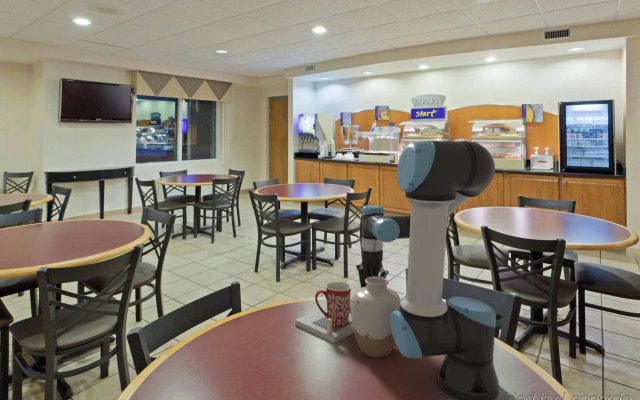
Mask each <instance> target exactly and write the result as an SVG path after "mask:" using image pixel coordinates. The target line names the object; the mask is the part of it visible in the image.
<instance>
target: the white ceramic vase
mask: <svg viewBox="0 0 640 400" xmlns="http://www.w3.org/2000/svg"><path fill="white" fill-rule="evenodd" d="M365 283H366V285H367V286H366V287H362V288H361V287H360V288H358V289H357V290H356V291H355V292H354V294H353V296H352V298H351V300H352V302H351V319H352V325H353V330H354V333H353V334H354V337H355V340H356V343H357V346H358V347H359V349H360V352H361V353H362V354H363V355H365V356H367V357H370V358H377V359H379V358H384V357H387V356H389V355H390V354H391V352H392V351H393V349H394V347H395V345H396V343H395V340H394V337H393V334H392V329H391V322H390V318H391V314H392V312H393V311H395V310H400V300H401V299H402V298H401V297H400V296H399V294H398V292H397V291H395V290H394V289H392V288H390V287H388V284H389V280H388V279H387V277H386V278H383V277H380V276H379V277H368V278H366V280H365Z"/></svg>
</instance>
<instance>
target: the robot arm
mask: <svg viewBox="0 0 640 400" xmlns="http://www.w3.org/2000/svg"><path fill="white" fill-rule="evenodd" d="M495 172H496V164H495V161H494V157H493V156H492V154H491V152H490V151H489V149H487V148H486V147H485V146H484V145H482V144H480V143H478V142H475V141H470V140H461V141H460V140H458V141H457V140H420V141H413V142H409V144H408V145H406V146H405V147H404V149H403V151H402V152H401V154H400V157H399V159H398V163H397V167H396V180H397V184H398V187H399V189H400V190H401V191H403V192H404V195H405V196H404V197H405V199H406V200H407V201H408V202H409V203H410V215H393V216H392V215H390V216H387V215H385V210H384V207H383V206H381V205H374V204H373V205H372V204H371V205H365V206H363V207H362V210H361V263H359V264H356V265H355V267H356V269H357V273H358V278H359V279H358V280H359V284H360V288H362V287H366V286H367V285H366V283H365V280H366V278H368V277H383V278H386V279H387V276H388V274H389V270H386V269H385V268H384V266H383V260H384V250H383V248H384V243H392V242H394V241H396V240H399V239H400V240H401V239H409V241H408V255H407V256H408V257H407V277H406V278H407V279H406V295H405V296H403V297H402V298H400V299H401V300H400V310H395V311H393V312H392V314H391V318H390V322H391V329H392V334H393V337H394V340H395V345H396V348H397V349H398V351H399V353H400V354H401V355H402V356H403V357H405V358H407V359H423V358H427V357H429V358H430V357H435V356H436V357H437V356H444V358H443V360H442V362H441V365H440V367H439V370H438V371H437V372H438V374H437V382H438V385H439V386H440V388H441V389H442V390H443V391H444V392H445V394H446V393H447V394H448V395H450V396H451V397H453V398H455V399H458V400H496V398H498V396H499V392H500V391H499V390H500V382H499V379H498V376H497V372H496V369H495V365H494V353H495V352H494V350H495V336H496V334H495V333H496V327H497V323H496V311H495V310H494V309H493V308H492V307H491V306H490V305H488V304H487V303H485V302H483V301H480V300H478V299H475V298H470V297H466V296H451V298H449V299H448V301H447V303H446V302H445V301H444V300H443V290H444V289H443V286H444V272H445V271H444V270H445V261H446V259H445V257H446V246H447V245H446V244H447V231H448V229H447V228H448V217H449V216H450V215H452V214H453V213H454V212H455V211H456V210H457V209H459V207H461V206H462V205H463V204H464V203H465V202H466V201H468V199H470V198H476V197H478V196H480V194H482V193H483V192H484V191H485V190H486V189H487V188H488V187H490V184H491V183H492V181H493V179H494V177H495Z"/></svg>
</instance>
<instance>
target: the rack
mask: <svg viewBox="0 0 640 400" xmlns="http://www.w3.org/2000/svg"><path fill="white" fill-rule="evenodd" d="M321 308H322V309H323V310H324V311H325V312H327V305H326V306H324V307H321ZM294 325H295V326H297V327H298V328H301V329H303V330H305V331H307V332H309V333H311V334H313V335H314V336H316V337H320V338H322V339H323V340H326V341H328V342H329V343H332V344H336V343H339V342H340V341H341V340H343V339H345V338H347V337H349V336H350V335H352V334H354V330H353V325H352V319H351V310H349V321H348V324H347V325H346V326H344V327H333V326H332V319H331V318H328V319H327V317H326V316H325V315H324V314H323V313H322V312H321V311H320V309H319V308H318V309H317V310H314V311H313V312H310V313H307V314H305V315H303V316H300V317H298V318H296V319H295V320H294Z"/></svg>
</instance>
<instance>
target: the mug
mask: <svg viewBox="0 0 640 400" xmlns="http://www.w3.org/2000/svg"><path fill="white" fill-rule="evenodd" d="M325 288H326V290H323V289H319V290H317V291H316V293H315V296H314V299H315V300H314V301H315V304H316V306H317V308H318V310H319V309H320V311H321V312H322V313H323V314H324V315H325V316H326V317H327V319H328V318H331V319H332V326H333V327H344V326H346V325H347V324H348V321H349V307H350V299H351V292H352V284H351V283H348V282H343V281H331V282H327V283H326V284H325ZM320 294H323V295H324V297H325V299H326V306H327V312H325V311H324V310H323V309H322V308H323V307H321V305H320V303H319V302H318V301H319V300H318V296H319V295H320Z"/></svg>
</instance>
